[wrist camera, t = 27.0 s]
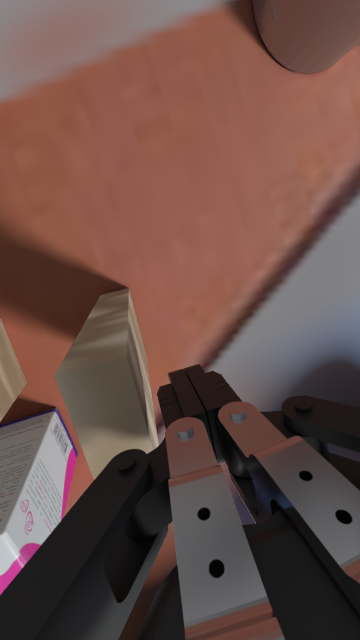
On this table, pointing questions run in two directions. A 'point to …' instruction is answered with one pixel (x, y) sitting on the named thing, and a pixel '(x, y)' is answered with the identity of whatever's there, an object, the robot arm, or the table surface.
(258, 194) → the table surface
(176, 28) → the table surface
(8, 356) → the tile
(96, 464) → the tan flat rectangular block
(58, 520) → the supplement box
